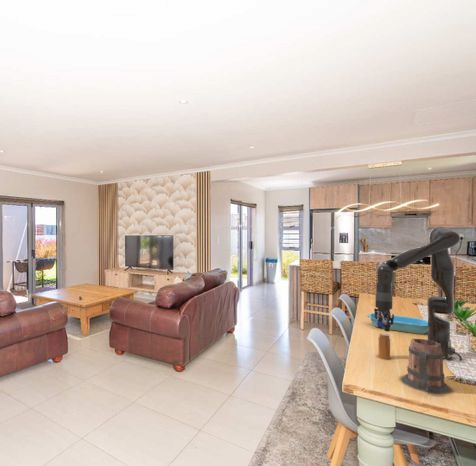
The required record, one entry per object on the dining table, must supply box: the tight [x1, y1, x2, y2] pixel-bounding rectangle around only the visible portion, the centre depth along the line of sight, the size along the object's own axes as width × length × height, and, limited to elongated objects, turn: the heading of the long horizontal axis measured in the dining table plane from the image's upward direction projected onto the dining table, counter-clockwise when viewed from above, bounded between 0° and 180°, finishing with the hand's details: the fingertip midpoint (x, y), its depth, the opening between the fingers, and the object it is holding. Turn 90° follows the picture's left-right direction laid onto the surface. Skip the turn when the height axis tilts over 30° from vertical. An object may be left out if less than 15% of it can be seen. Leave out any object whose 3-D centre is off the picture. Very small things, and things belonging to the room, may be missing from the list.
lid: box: [377, 321, 391, 327], centre depth 186 cm, size 6×6×2 cm
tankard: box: [401, 338, 452, 394], centre depth 152 cm, size 24×17×20 cm
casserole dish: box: [366, 312, 428, 335], centre depth 236 cm, size 37×22×7 cm, turn 54°
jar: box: [378, 332, 391, 360], centre depth 185 cm, size 5×5×13 cm
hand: (383, 329), depth 186 cm, fingers closed on lid, 5 cm apart
